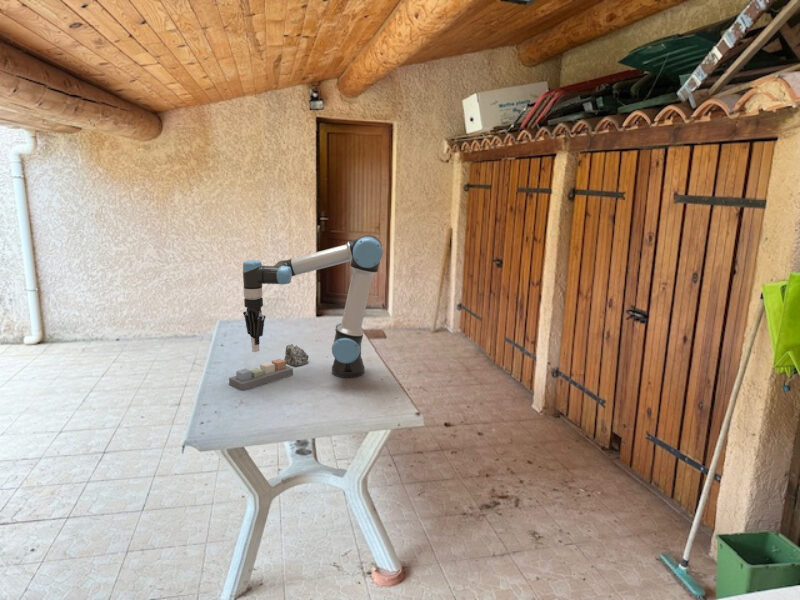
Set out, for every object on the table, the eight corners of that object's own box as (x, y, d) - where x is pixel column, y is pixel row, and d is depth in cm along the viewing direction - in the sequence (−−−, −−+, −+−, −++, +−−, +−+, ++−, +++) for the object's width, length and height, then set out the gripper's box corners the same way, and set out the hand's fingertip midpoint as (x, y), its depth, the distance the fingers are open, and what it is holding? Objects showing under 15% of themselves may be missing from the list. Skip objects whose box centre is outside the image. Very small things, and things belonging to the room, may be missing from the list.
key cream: (274, 372, 227) (274, 364, 226) (266, 375, 223) (266, 366, 222) (268, 370, 229) (268, 361, 228) (260, 372, 226) (260, 364, 225)
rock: (276, 365, 247) (278, 353, 240) (286, 351, 254) (289, 339, 247) (300, 377, 246) (303, 366, 239) (310, 363, 253) (313, 352, 246)
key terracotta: (285, 369, 231) (285, 361, 230) (277, 371, 228) (277, 363, 227) (279, 367, 234) (279, 358, 233) (271, 369, 230) (271, 361, 230)
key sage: (263, 379, 222) (263, 370, 221) (254, 381, 219) (254, 373, 218) (257, 376, 225) (257, 368, 224) (248, 379, 222) (248, 370, 221)
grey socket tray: (293, 374, 231) (292, 368, 230) (242, 391, 212) (242, 384, 211) (279, 369, 237) (279, 363, 237) (229, 384, 218) (229, 377, 217)
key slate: (251, 380, 217) (251, 371, 217) (242, 382, 214) (242, 373, 213) (245, 377, 220) (245, 368, 219) (236, 380, 217) (236, 371, 216)
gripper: (270, 298, 213) (272, 352, 218) (252, 293, 221) (254, 346, 226) (254, 301, 207) (257, 356, 212) (236, 296, 215) (239, 350, 220)
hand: (255, 351), depth 219 cm, fingers closed
